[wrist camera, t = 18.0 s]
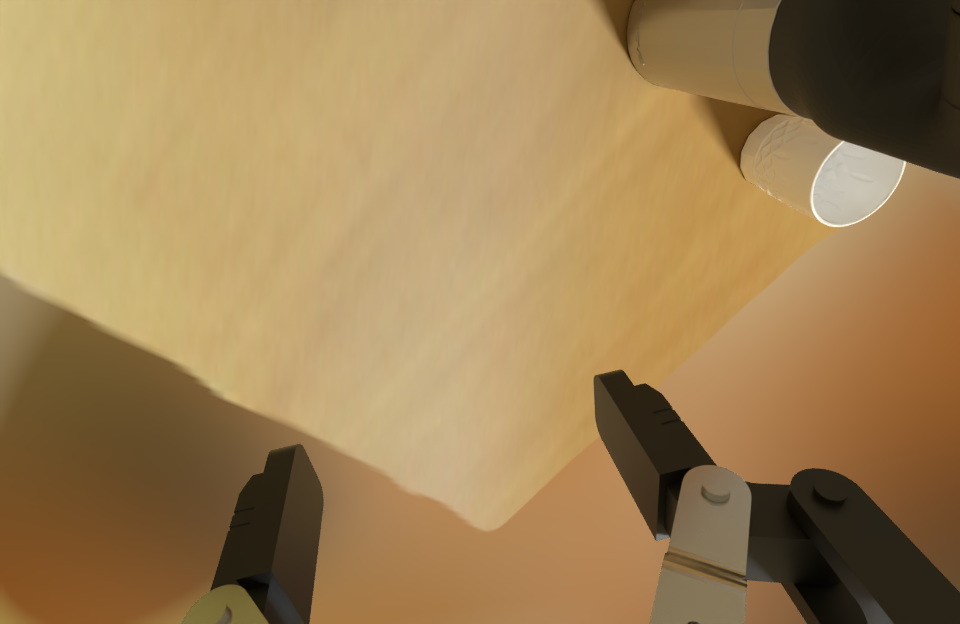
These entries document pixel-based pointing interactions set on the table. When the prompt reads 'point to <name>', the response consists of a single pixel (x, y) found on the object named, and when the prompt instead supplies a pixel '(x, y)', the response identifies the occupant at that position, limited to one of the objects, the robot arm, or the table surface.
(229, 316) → the table surface
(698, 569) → the robot arm
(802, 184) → the white cup
